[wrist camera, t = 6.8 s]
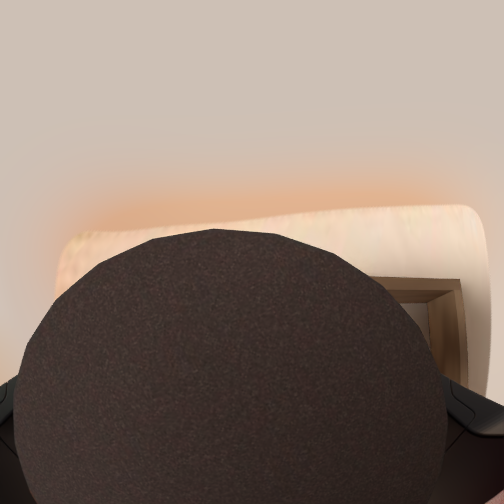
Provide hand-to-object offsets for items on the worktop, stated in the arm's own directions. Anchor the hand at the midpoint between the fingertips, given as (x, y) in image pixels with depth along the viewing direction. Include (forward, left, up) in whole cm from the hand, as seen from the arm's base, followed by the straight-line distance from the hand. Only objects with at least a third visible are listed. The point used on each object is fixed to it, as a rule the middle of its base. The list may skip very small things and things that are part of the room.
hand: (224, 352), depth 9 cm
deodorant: (-2, 0, -9) cm, 9 cm away
